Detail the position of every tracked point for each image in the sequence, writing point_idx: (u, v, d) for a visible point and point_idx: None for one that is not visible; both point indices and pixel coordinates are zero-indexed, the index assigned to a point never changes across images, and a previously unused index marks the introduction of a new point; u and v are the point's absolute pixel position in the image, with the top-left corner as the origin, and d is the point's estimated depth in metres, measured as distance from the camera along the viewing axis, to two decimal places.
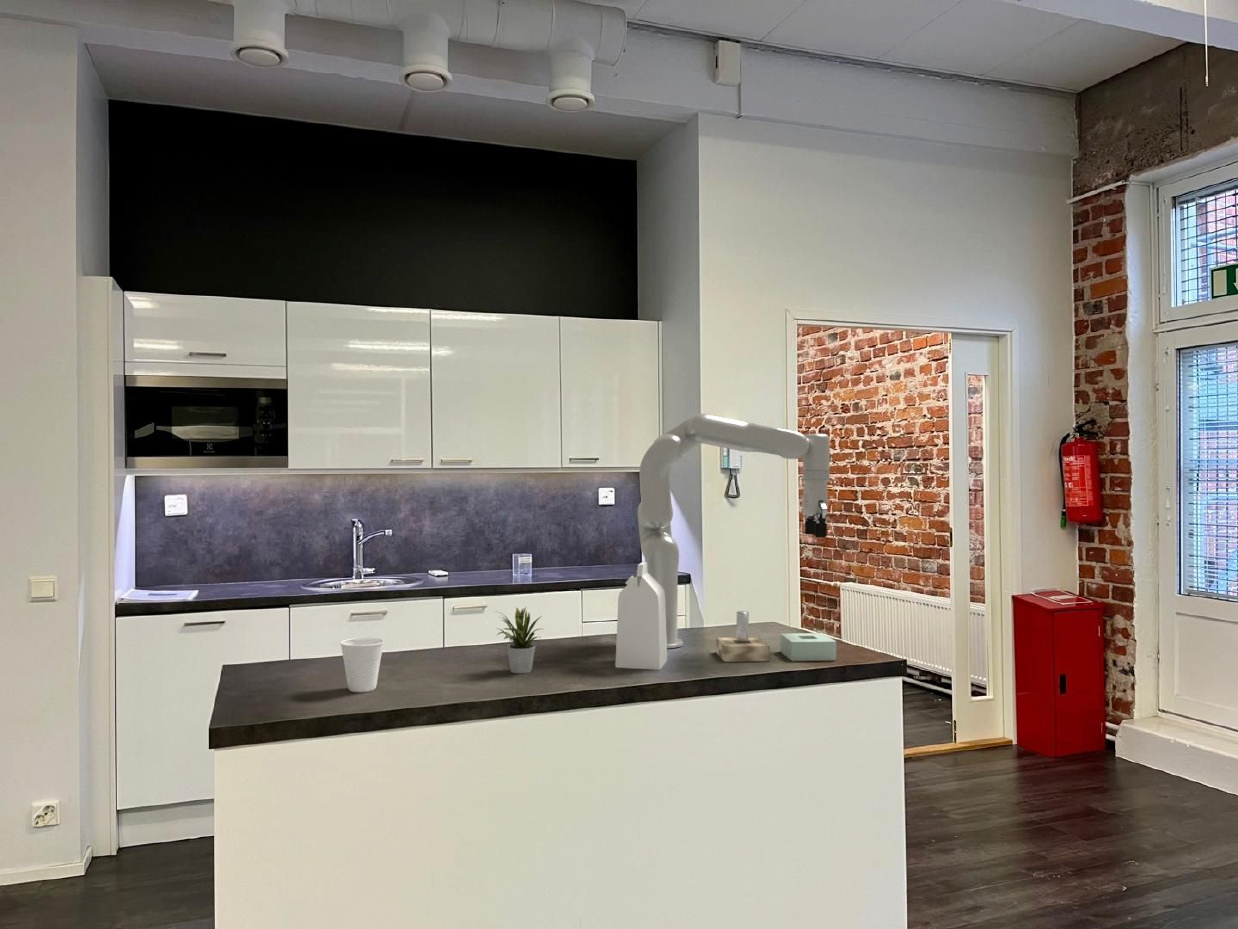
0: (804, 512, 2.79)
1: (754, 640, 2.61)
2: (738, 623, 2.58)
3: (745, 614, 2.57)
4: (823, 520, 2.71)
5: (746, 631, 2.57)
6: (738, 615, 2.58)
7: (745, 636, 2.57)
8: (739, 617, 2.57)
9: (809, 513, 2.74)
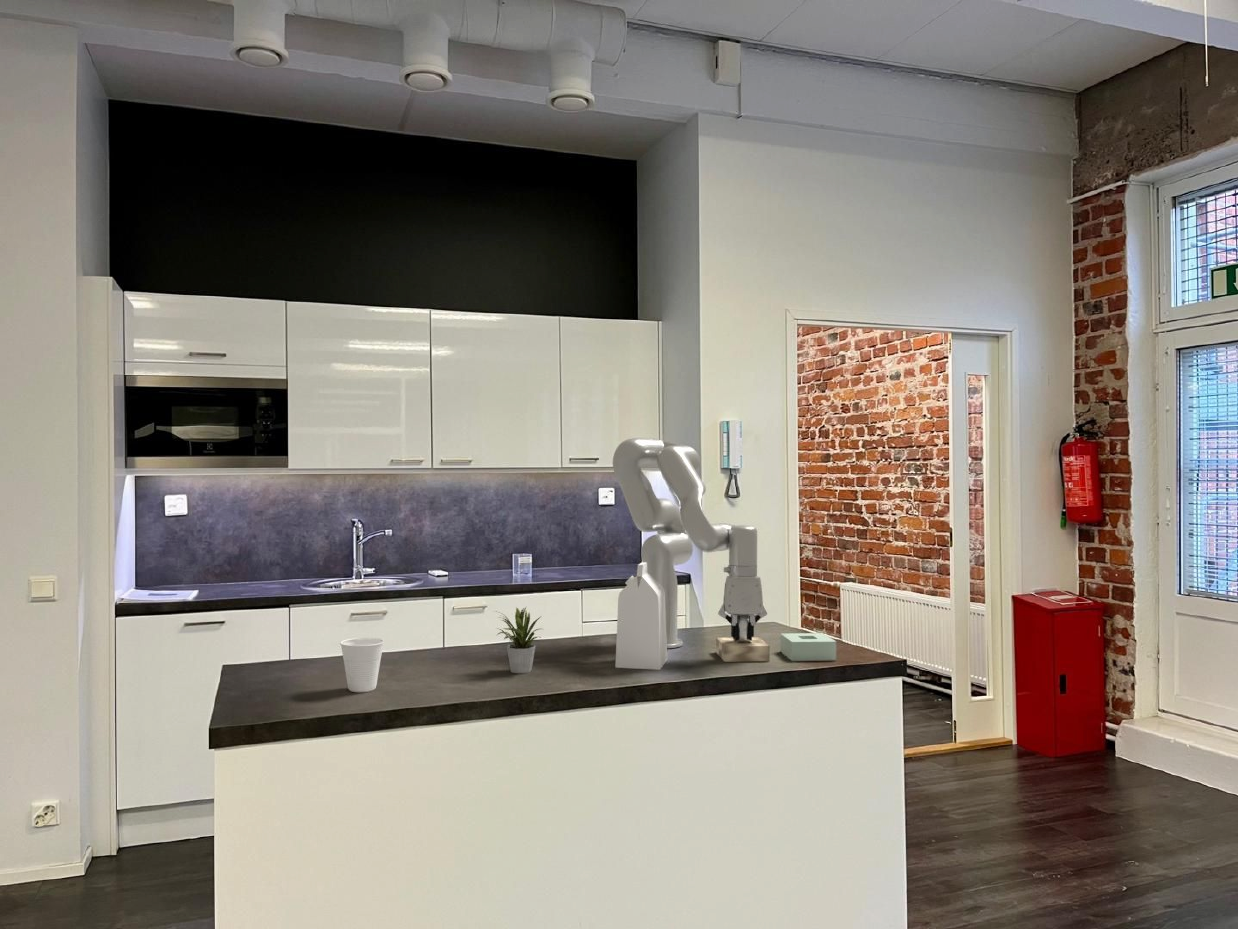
0: (739, 612, 2.56)
1: (754, 640, 2.61)
2: (738, 623, 2.58)
3: None
4: None
5: (746, 631, 2.57)
6: (738, 615, 2.58)
7: (745, 637, 2.57)
8: (739, 618, 2.57)
9: (756, 612, 2.56)
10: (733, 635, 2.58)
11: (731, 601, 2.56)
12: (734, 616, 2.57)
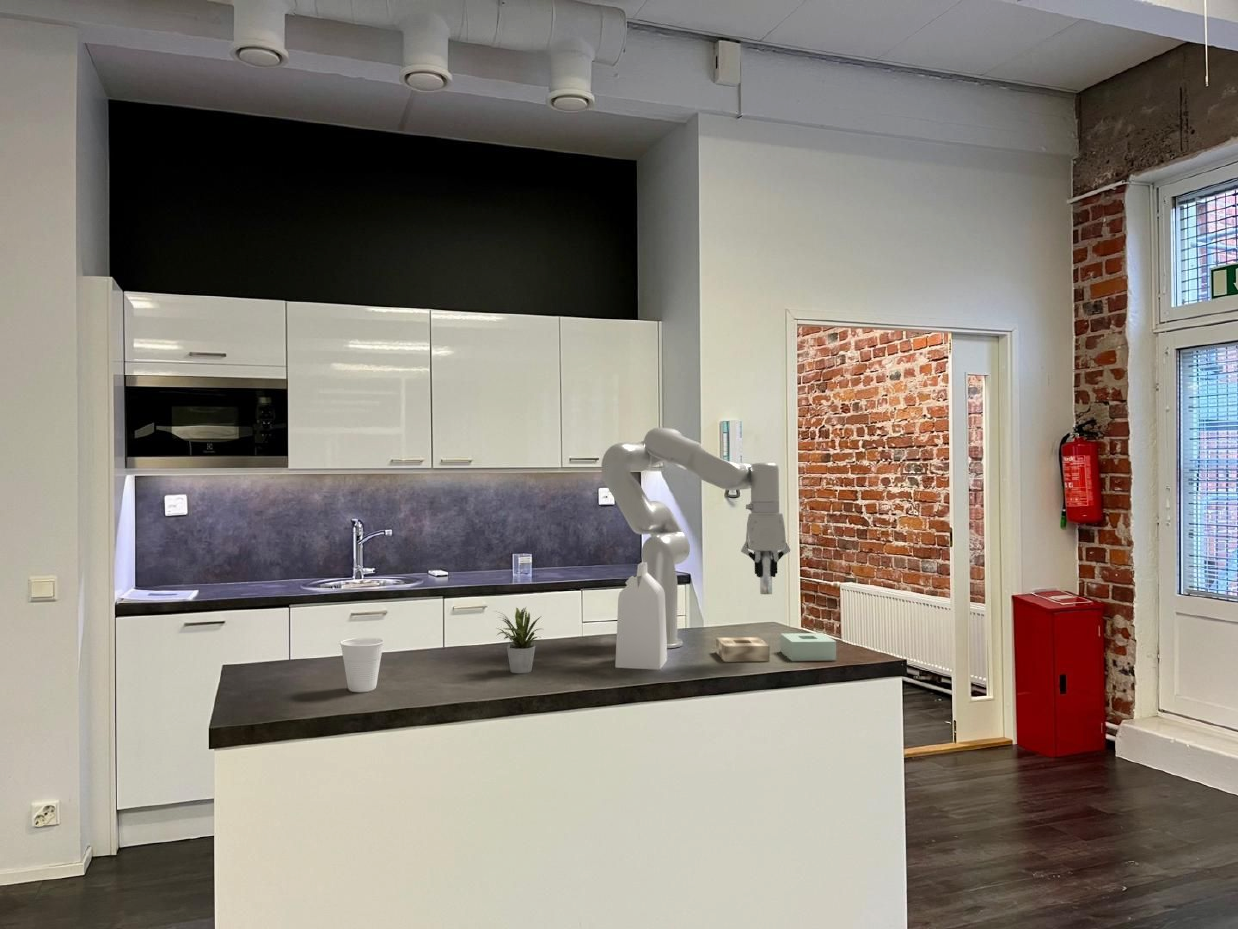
0: (762, 548, 2.56)
1: (754, 640, 2.61)
2: (761, 560, 2.58)
3: None
4: None
5: (769, 568, 2.57)
6: (761, 552, 2.58)
7: (769, 573, 2.57)
8: (762, 554, 2.57)
9: (779, 548, 2.56)
10: (757, 572, 2.58)
11: (754, 537, 2.56)
12: (757, 553, 2.57)
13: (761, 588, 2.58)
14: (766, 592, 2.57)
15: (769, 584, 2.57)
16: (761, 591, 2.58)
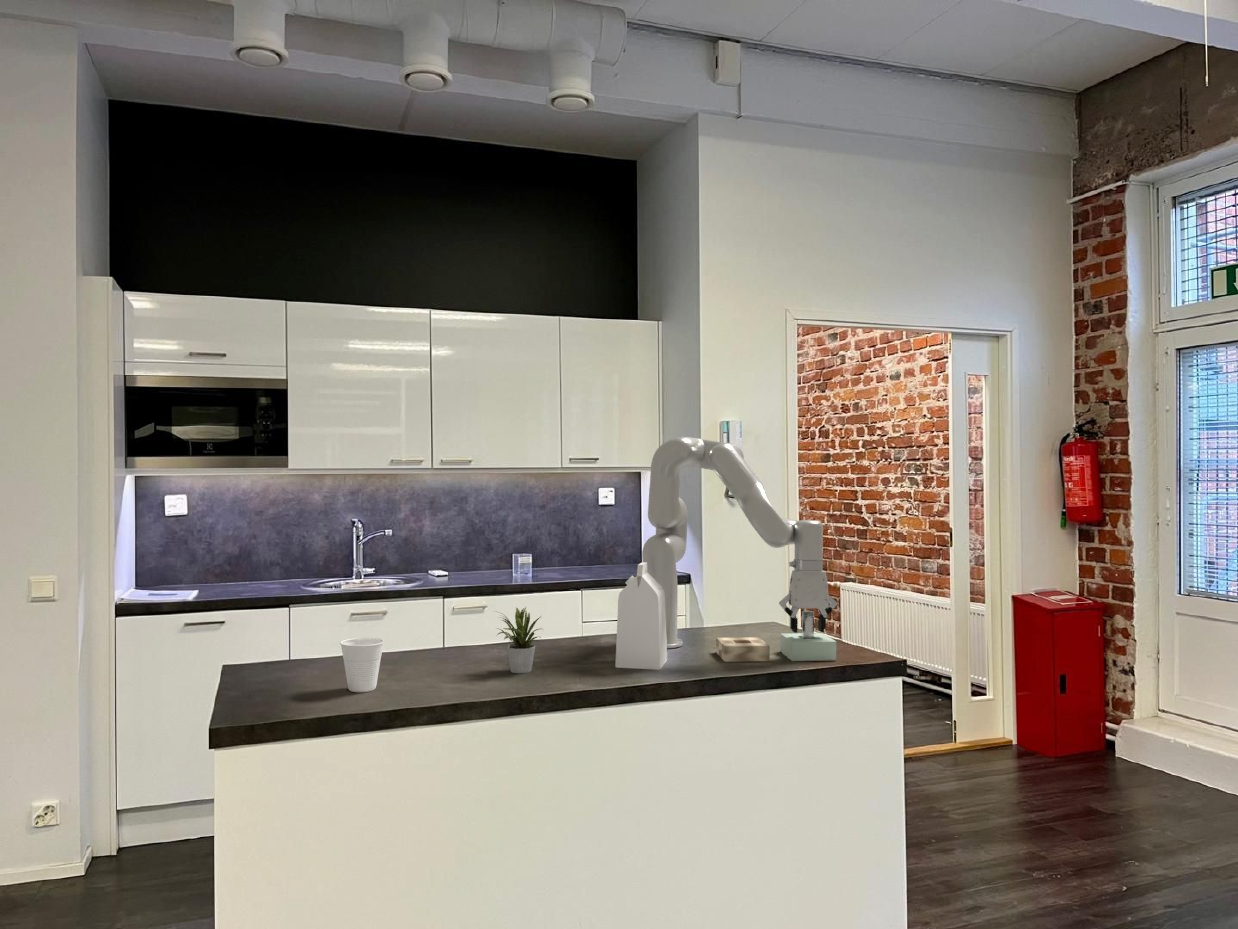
0: (805, 606, 2.57)
1: (754, 640, 2.61)
2: (804, 622, 2.59)
3: (811, 614, 2.59)
4: None
5: (812, 630, 2.59)
6: (804, 615, 2.59)
7: (811, 636, 2.59)
8: (805, 617, 2.59)
9: (822, 606, 2.58)
10: (792, 627, 2.59)
11: (797, 595, 2.57)
12: (796, 609, 2.59)
13: None
14: None
15: None
16: None
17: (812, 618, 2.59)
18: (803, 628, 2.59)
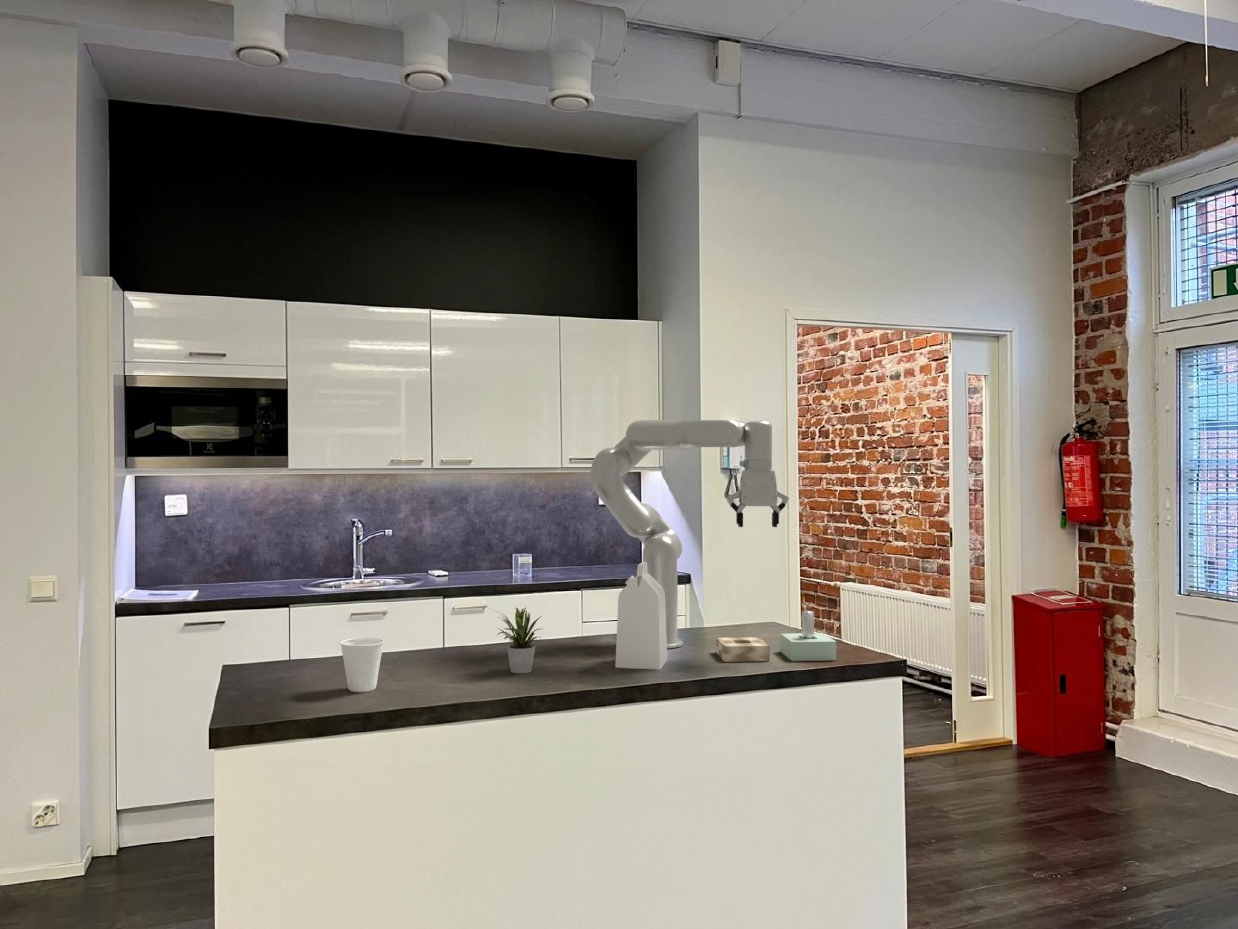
0: (754, 503, 2.65)
1: (754, 640, 2.61)
2: (804, 622, 2.59)
3: (811, 613, 2.59)
4: None
5: (812, 630, 2.59)
6: (804, 614, 2.59)
7: (811, 636, 2.59)
8: (805, 617, 2.59)
9: (770, 503, 2.65)
10: (738, 522, 2.67)
11: (747, 493, 2.65)
12: (743, 505, 2.66)
13: None
14: None
15: None
16: None
17: (812, 618, 2.59)
18: (803, 628, 2.59)
